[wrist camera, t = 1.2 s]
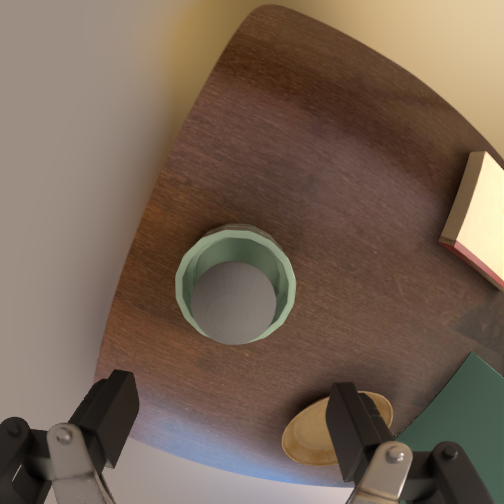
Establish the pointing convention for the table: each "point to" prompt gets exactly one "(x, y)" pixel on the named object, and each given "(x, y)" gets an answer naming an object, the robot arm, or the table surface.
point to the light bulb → (233, 302)
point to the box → (467, 422)
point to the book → (479, 219)
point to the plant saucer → (320, 432)
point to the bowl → (237, 249)
